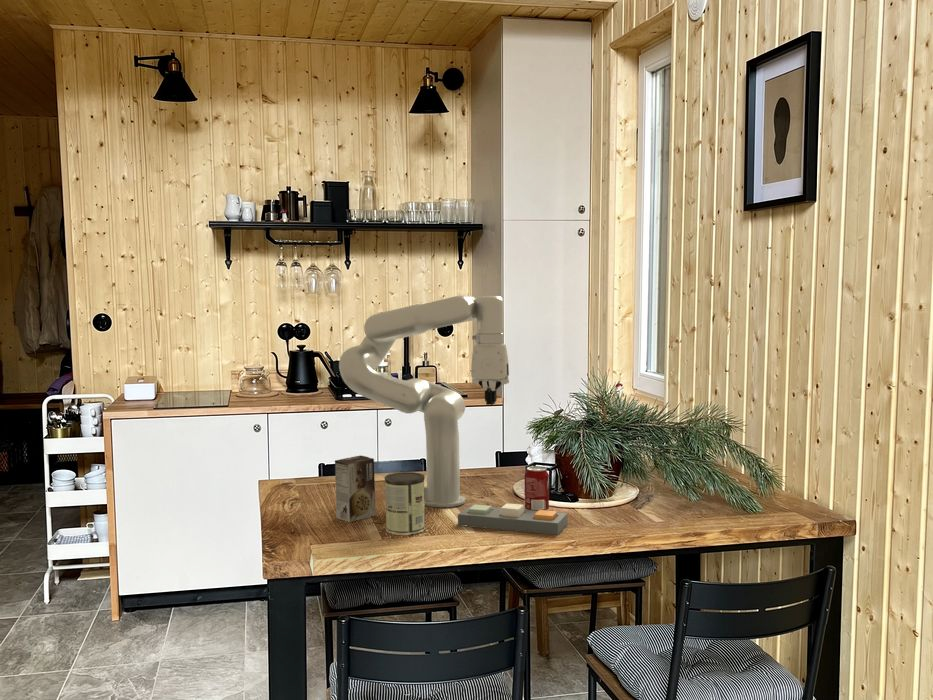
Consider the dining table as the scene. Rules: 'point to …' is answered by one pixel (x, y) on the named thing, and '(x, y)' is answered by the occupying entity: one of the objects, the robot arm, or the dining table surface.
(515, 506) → the cream button
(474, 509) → the sage button
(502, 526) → the button panel
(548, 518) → the orange button
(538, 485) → the soda can
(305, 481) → the dining table surface
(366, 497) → the grey cardboard box
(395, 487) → the coffee can
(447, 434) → the robot arm
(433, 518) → the dining table surface
